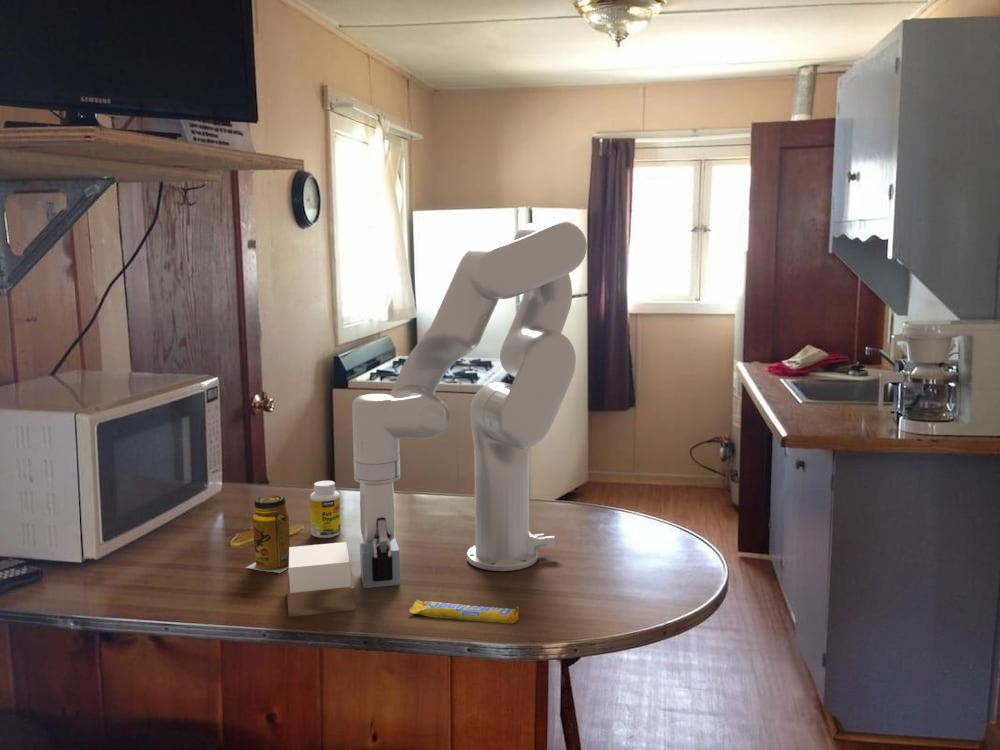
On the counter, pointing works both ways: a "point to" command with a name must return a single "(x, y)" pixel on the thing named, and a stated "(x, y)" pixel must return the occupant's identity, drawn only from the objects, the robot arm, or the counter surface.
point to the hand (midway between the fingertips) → (379, 569)
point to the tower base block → (321, 600)
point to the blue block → (366, 564)
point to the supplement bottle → (325, 510)
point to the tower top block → (319, 567)
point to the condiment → (271, 534)
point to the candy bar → (464, 612)
